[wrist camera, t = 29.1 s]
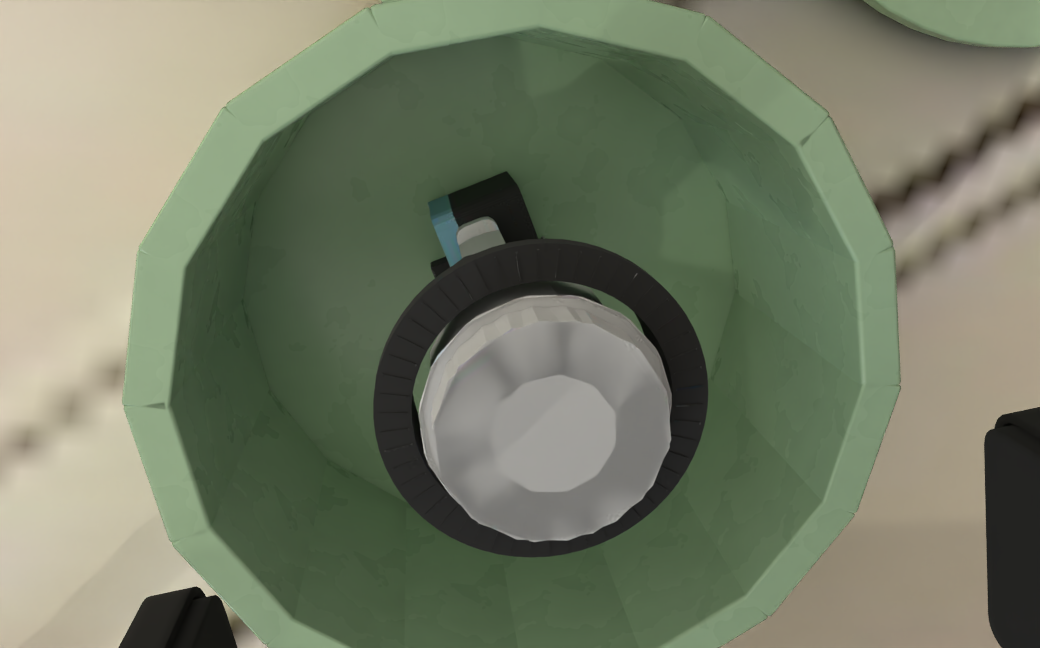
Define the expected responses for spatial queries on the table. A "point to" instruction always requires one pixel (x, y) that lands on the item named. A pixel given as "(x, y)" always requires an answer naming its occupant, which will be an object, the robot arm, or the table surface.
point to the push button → (535, 386)
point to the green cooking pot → (386, 294)
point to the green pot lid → (969, 20)
